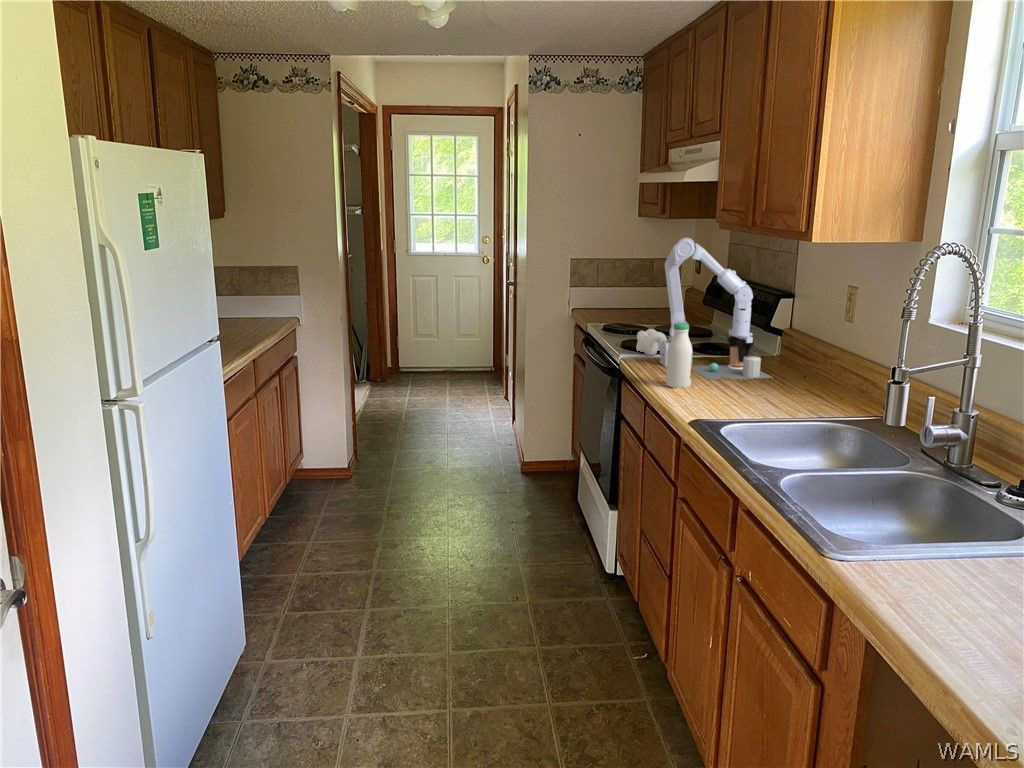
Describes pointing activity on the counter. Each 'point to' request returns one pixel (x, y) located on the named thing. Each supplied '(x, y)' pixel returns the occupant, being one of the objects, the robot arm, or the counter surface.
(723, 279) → the robot arm
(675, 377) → the milk bottle
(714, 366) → the teal marble
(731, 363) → the peach domed cylinder
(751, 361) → the white domed cylinder
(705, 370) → the slate mat
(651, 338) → the white puffy twist
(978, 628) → the counter surface
